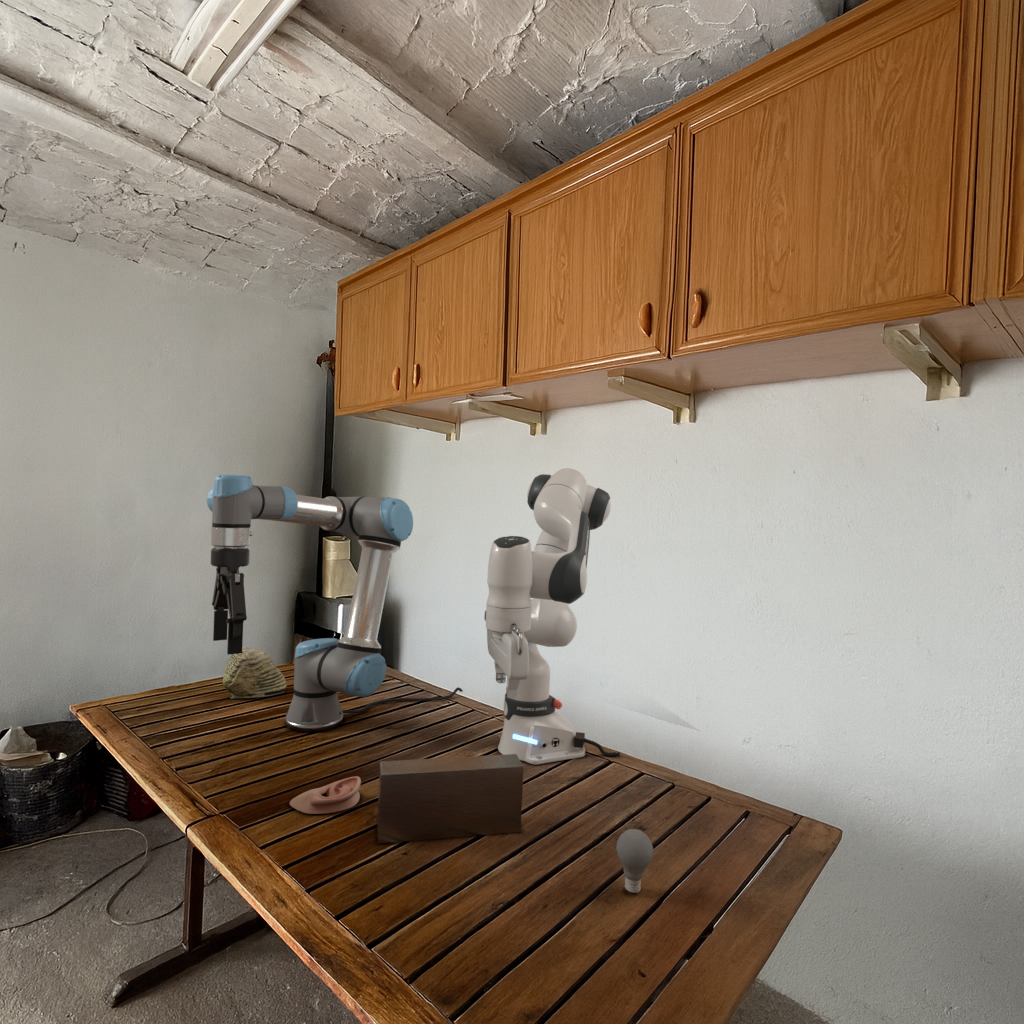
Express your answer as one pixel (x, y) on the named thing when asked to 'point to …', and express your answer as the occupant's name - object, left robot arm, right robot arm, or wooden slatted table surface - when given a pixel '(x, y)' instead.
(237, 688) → the fossil
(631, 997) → the wooden slatted table surface
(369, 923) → the wooden slatted table surface
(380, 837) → the box
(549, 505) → the right robot arm
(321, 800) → the anatomical model
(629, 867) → the light bulb
